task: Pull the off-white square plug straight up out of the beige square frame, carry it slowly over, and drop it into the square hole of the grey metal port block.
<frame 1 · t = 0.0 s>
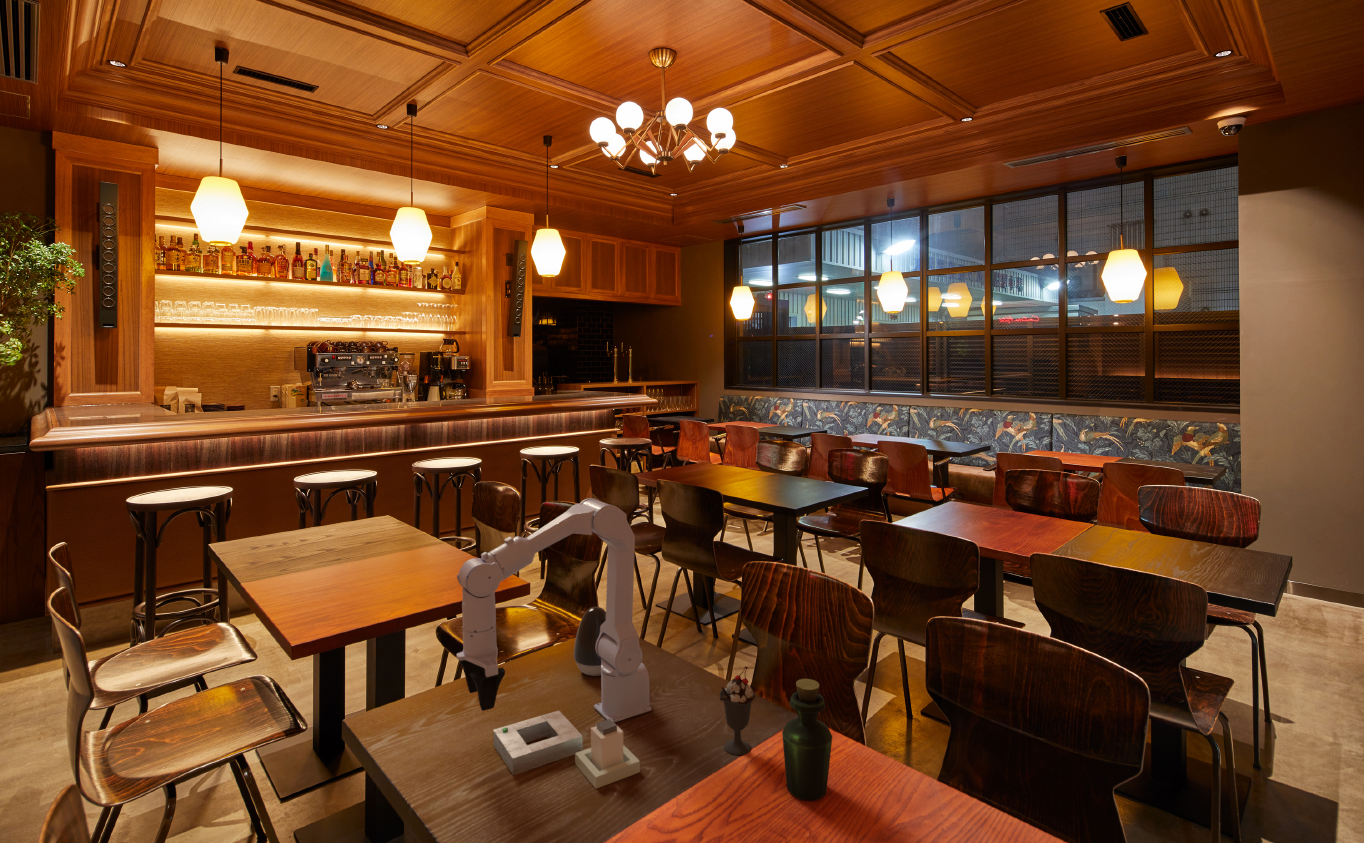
hand: (481, 699, 119), 10 cm above the table, tool pointing down, fingers open, 7 cm apart
sundae: (737, 748, 121), on the table
port block: (537, 748, 121), on the table
dark grey rounded figure: (596, 672, 153), on the table
beige square frame: (607, 767, 115), on the table
potion bottle: (806, 790, 109), on the table
plug: (607, 768, 115), resting in beige square frame
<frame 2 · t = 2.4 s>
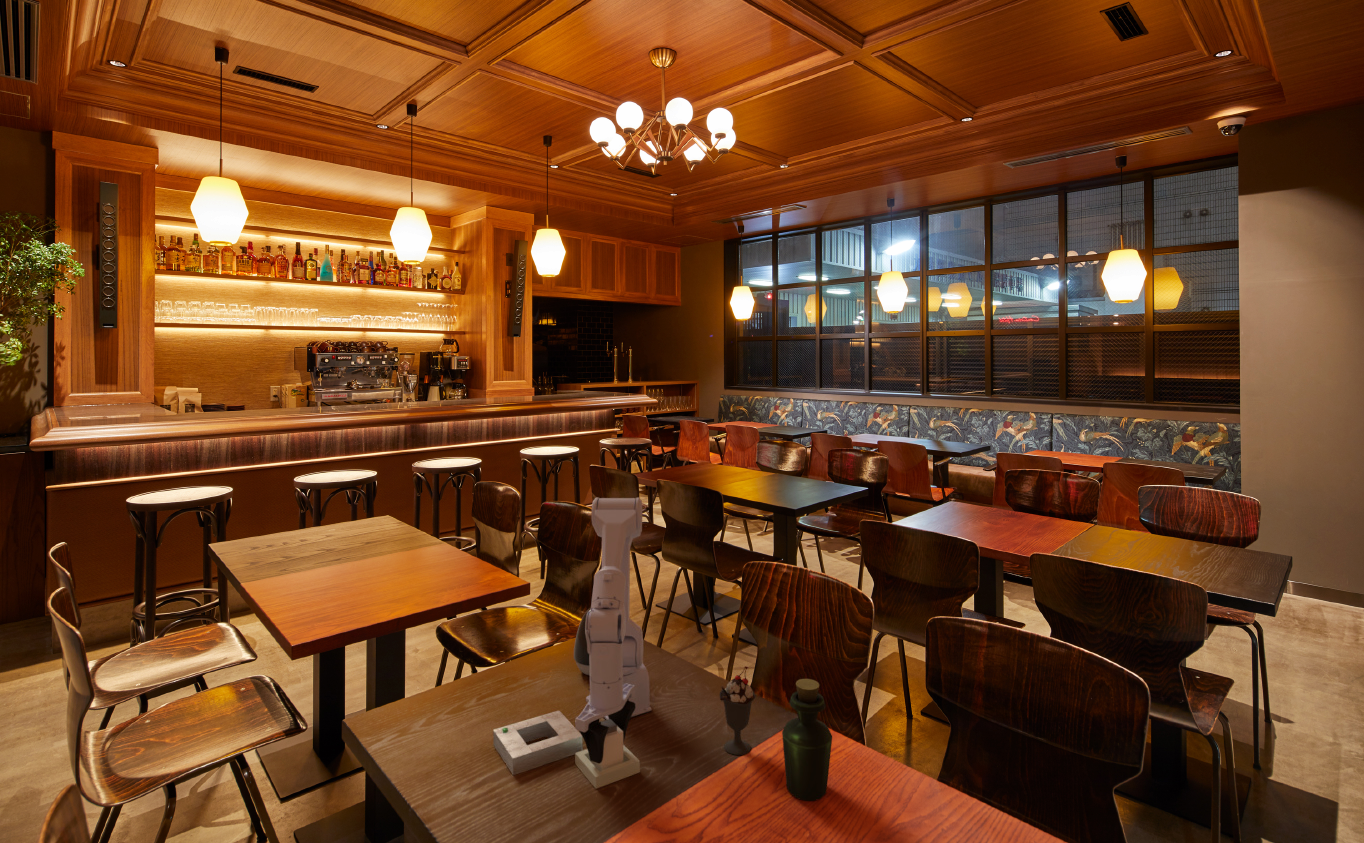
hand: (607, 751, 115), 3 cm above the table, tool pointing down, fingers closed on plug, 6 cm apart
plug: (607, 768, 115), resting in beige square frame, touching gripper
everything else where it was.
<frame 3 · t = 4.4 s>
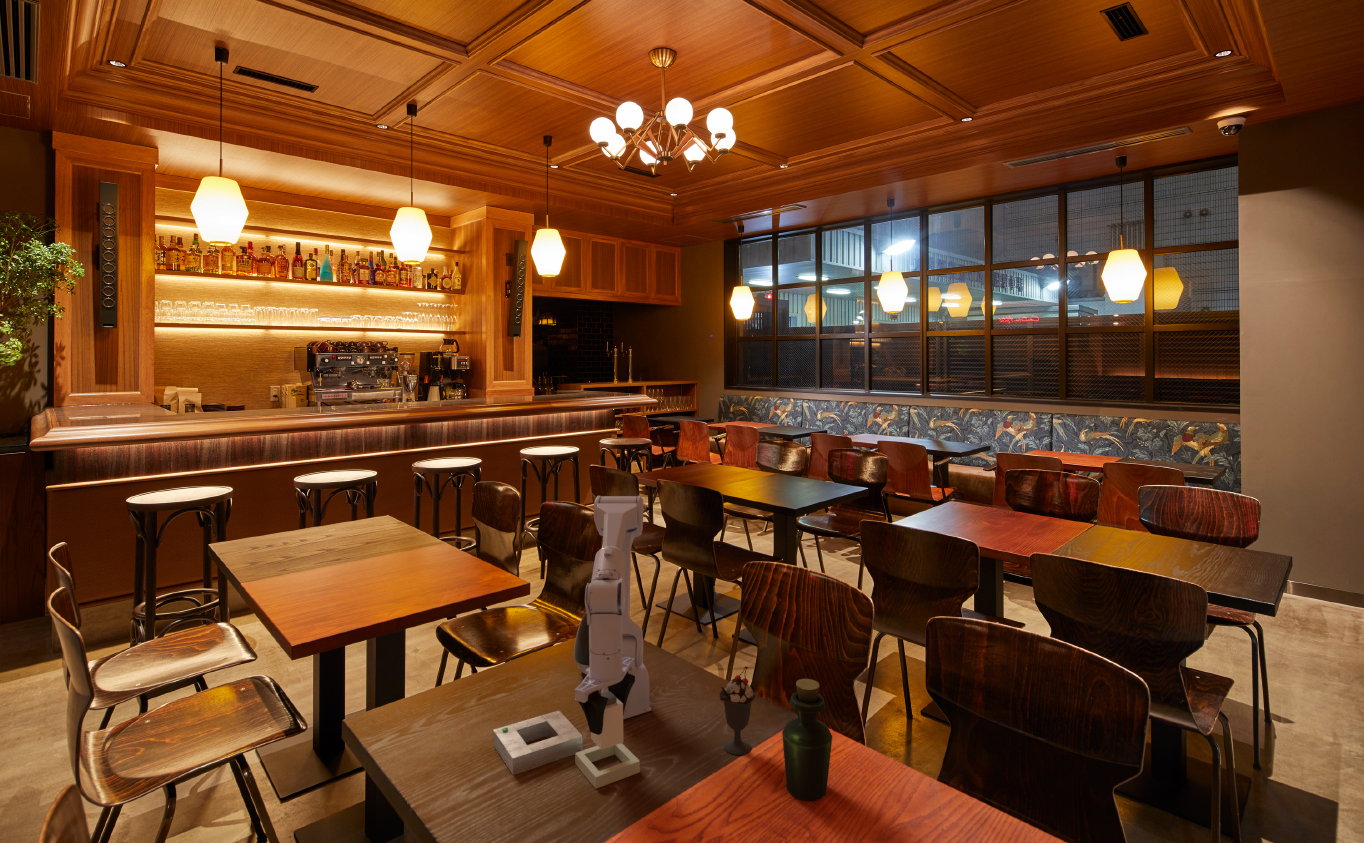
hand: (606, 724, 115), 8 cm above the table, tool pointing down, fingers closed on plug, 6 cm apart
plug: (606, 740, 115), point 5 cm above the table, touching gripper
everything else where it was.
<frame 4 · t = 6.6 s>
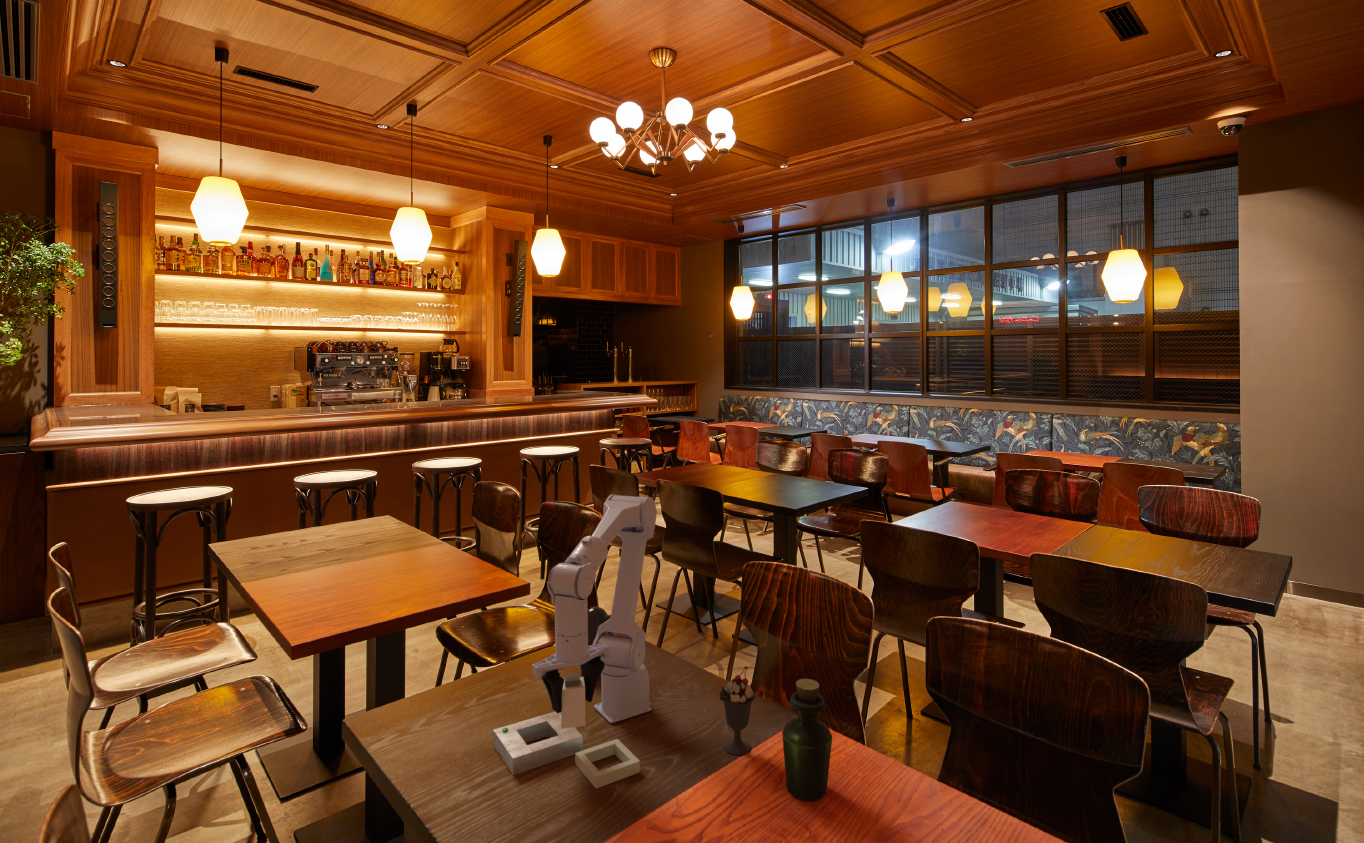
hand: (572, 705, 117), 10 cm above the table, tool pointing down, fingers closed on plug, 6 cm apart
plug: (572, 721, 117), point 7 cm above the table, touching gripper
everything else where it was.
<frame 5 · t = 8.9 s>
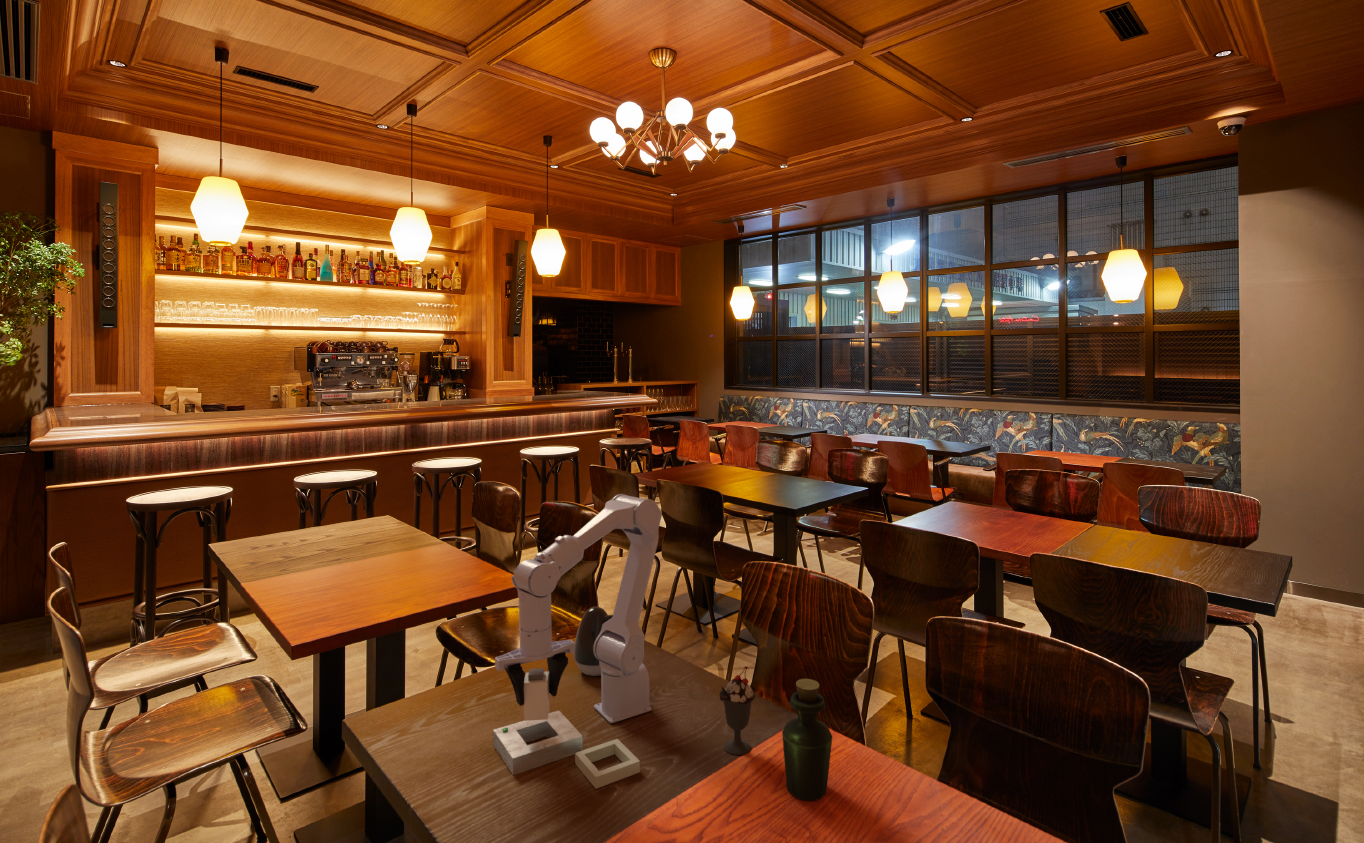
hand: (536, 698, 121), 10 cm above the table, tool pointing down, fingers closed on plug, 6 cm apart
plug: (537, 714, 121), point 7 cm above the table, touching gripper
everything else where it was.
when the fingers open (4 cm above the table, at t = 10.9 s): plug drops 2 cm, resting in port block.
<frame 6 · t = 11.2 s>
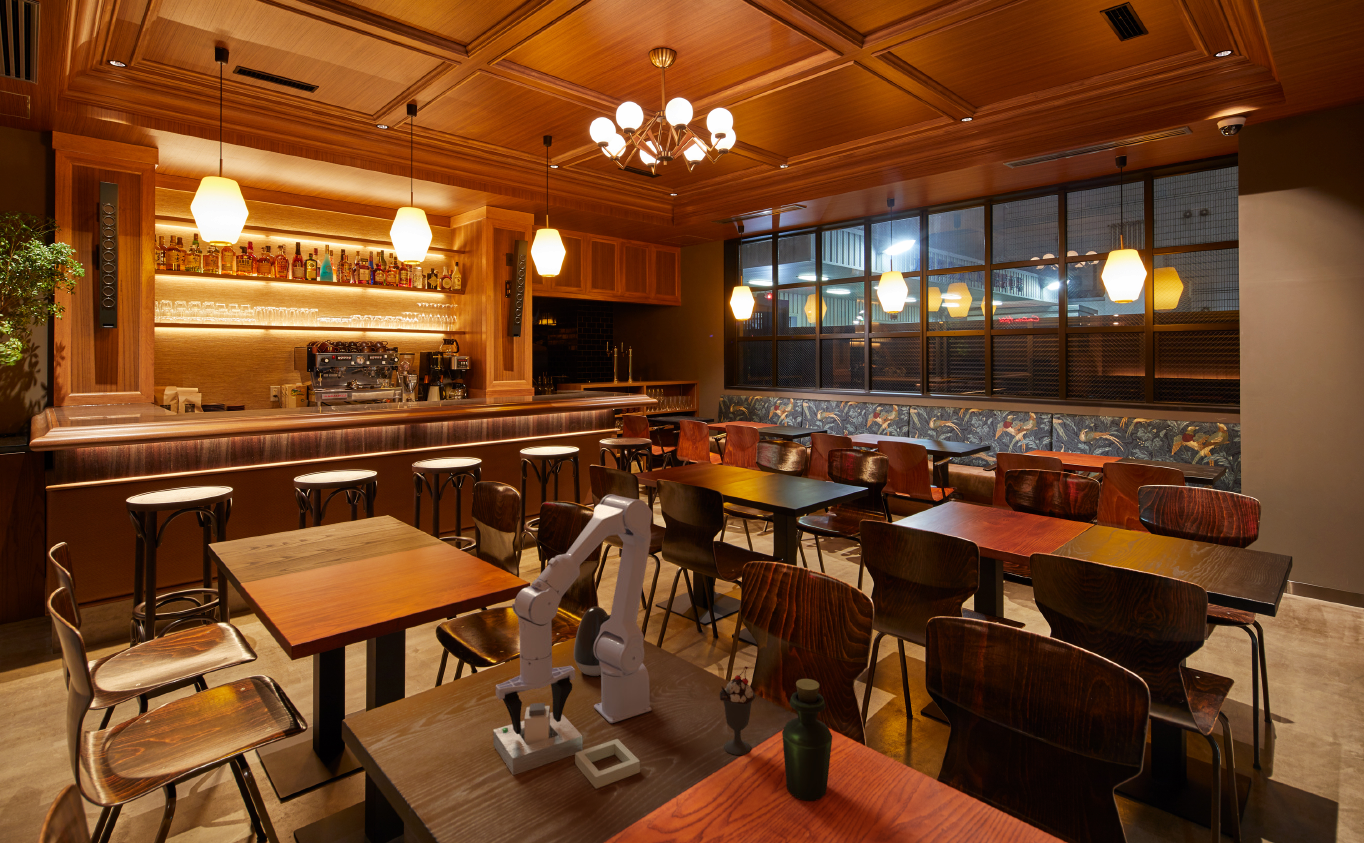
hand: (537, 725, 121), 4 cm above the table, tool pointing down, fingers open, 7 cm apart
plug: (537, 748, 121), resting in port block
everything else where it was.
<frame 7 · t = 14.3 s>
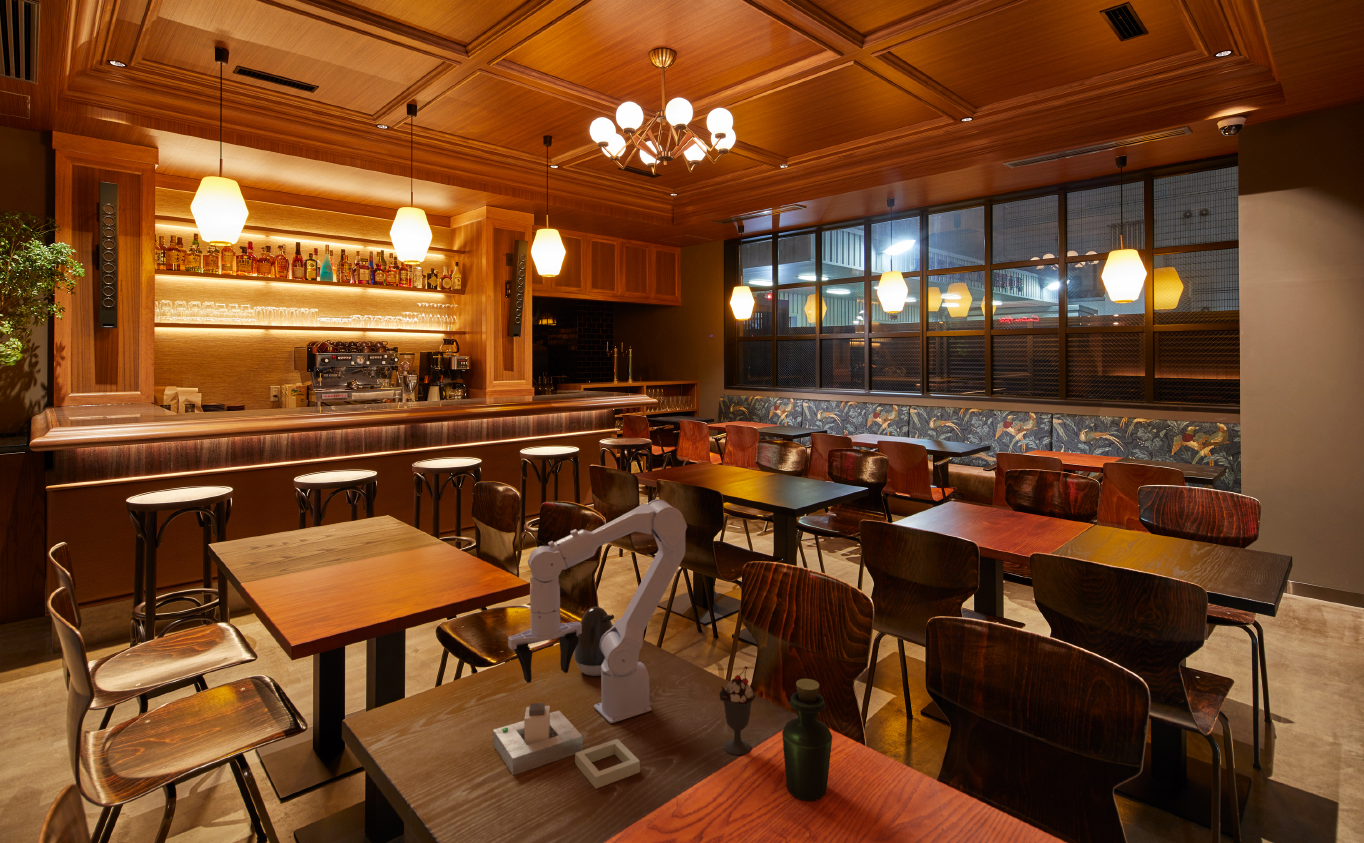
hand: (546, 675, 130), 9 cm above the table, tool pointing down, fingers open, 7 cm apart
nothing on the table moved.
at the end: plug 0.0 cm off-centre on the port block, point 0.0 cm above the port block's base; plug tilted 0°; the gripper is holding nothing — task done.
